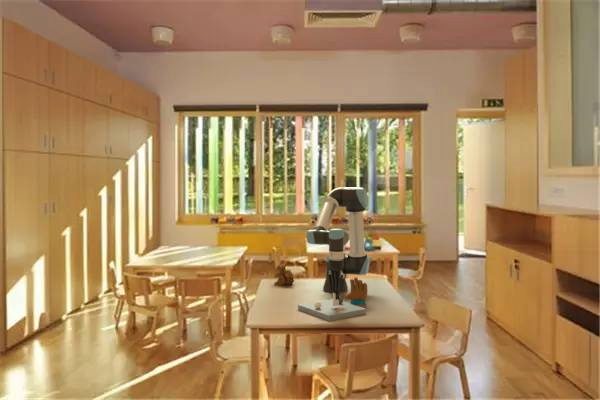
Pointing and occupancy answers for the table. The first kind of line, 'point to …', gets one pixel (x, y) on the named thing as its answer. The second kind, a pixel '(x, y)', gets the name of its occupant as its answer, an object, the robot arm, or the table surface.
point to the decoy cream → (317, 305)
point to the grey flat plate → (332, 310)
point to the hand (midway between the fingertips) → (335, 305)
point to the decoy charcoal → (340, 300)
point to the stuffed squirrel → (284, 275)
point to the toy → (357, 292)
